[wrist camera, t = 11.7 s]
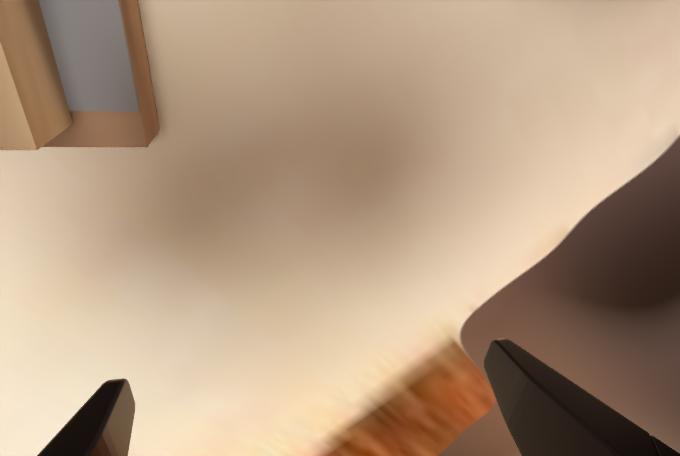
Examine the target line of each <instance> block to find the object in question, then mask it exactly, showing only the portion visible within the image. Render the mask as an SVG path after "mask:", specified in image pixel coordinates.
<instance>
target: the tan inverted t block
mask: <svg viewBox="0 0 680 456" xmlns="http://www.w3.org/2000/svg"><path fill="white" fill-rule="evenodd" d="M72 124H73V122H72V118H71V115H70V111H69V107H68V104H67V100H66V97H65V93H64V90H63V86H62V82H61V79H60V75H59V72H58V68H57V64H56V61H55V57H54V54H53V50H52V47H51V43H50V39H49V36H48V32H47V29H46V25H45V22H44V18H43V14H42V11H41V7H40V4H39V0H0V150H38V149H39V148H41V147H42V146H43V145H45V144H46V143H47V142H49V141H50V140H52V139H53V138H54V137H56V136H57V135H58V134H60V133H61V132H63V131H64V130H65V129H67V128H68V127H70V126H71V125H72Z"/></svg>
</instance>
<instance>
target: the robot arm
mask: <svg viewBox="0 0 680 456" xmlns="http://www.w3.org/2000/svg"><path fill="white" fill-rule="evenodd" d="M484 368H485V371H486V374H487V376H488V379H489V381H490V384H491V387H492V389H493V392H494V394H495V397H496V399H497V402H498V405H499V407H500V410H501V412H502V415H503V417H504V420H505V422H506V424H507V426H508V429H509V431H510V433H511V435H512V437H513V439H514V441H515V443H516V445H517V447H518V448H519V451H520V453H521V455H522V456H680V454H679V453H678V452H676V451H675V450H673V449H672V448H670V447H669V446H667V445H666V444H664V443H663V442H661V441H660V440H658V439H656V438H655V437H654V436H650V435H649V433H648V432H646V431H645V430H643V429H642V428H640V427H639V426H637V425H636V424H634V423H633V422H631V421H630V420H628V419H627V418H625V417H624V416H623V415H621V414H620V413H618V412H616V411H615V410H614V409H612V408H611V407H609V406H608V405H606V404H605V403H603V402H602V401H600V400H599V399H597V398H596V397H594V396H593V395H591V394H590V393H588V392H587V391H585V390H584V389H582V388H581V387H579V386H578V385H576V384H575V383H573V382H572V381H570V380H569V379H567V378H566V377H564V376H563V375H562V374H560V373H559V372H557V371H556V370H554V369H553V368H551V367H549V366H548V365H547V364H545V363H544V362H542V361H541V360H539V359H538V358H536V357H535V356H533V355H532V354H530V353H529V352H527V351H526V350H524V349H522V348H521V347H520V346H518V345H517V344H515V343H514V342H512V341H511V340H509V339H505V338H503V339H494V340H492V341H491V343H490V346H489V348H488V351H487V353H486V356H485V359H484ZM134 413H135V401H134V398H133V395H132V391H131V388H130V385H129V382H128V380H126V379H115V380H108V381H106V382H105V383H103V384H102V385H101V387H100V388H99V389H98V390H97V391H96V392H95V393H94V394H93V395H92V396H91V397H90V399H89V400H88V401H87V402H86V403H85V404H84V405H83V406H82V407H81V408H80V409H79V411H78V412H77V413H76V414H75V415H74V416H73V417H72V418H71V419H70V420H69V422H68V423H67V424H66V425H65V426H64V427H63V428H62V429H61V430H60V431H59V432H58V434H57V435H56V436H55V437H54V438H53V439H52V440H51V441H50V442H49V443H48V444H47V446H46V447H45V448H44V449H43V450H42V451H41V452H40V453H39V454H38V455H37V456H128V450H129V444H130V438H131V432H132V426H133V419H134Z"/></svg>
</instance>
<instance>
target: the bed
mask: <svg viewBox="0 0 680 456" xmlns="http://www.w3.org/2000/svg"><path fill="white" fill-rule="evenodd" d="M39 4H40V7H41V11H42V14H43V18H44V22H45V25H46V29H47V32H48V36H49V39H50V43H51V47H52V50H53V54H54V57H55V61H56V64H57V68H58V72H59V75H60V79H61V82H62V86H63V90H64V93H65V97H66V100H67V104H68V107H69V111H70V115H71V118H72V122H73V124H72V125H71V126H70V127H68V128H67V129H65V130H64V131H63V132H61V133H60V134H58V135H57V136H56V137H54V138H53V139H52V140H50V141H49V142H47V143H46V144H45V145H43V146H42V147H148V145H149V144H150V142H151V141H152V140H153V138H154V137H155V135H156V134H157V132H158V131H159V124H158V118H157V112H156V106H155V100H154V94H153V88H152V82H151V76H150V70H149V64H148V58H147V53H146V47H145V41H144V35H143V29H142V23H141V17H140V11H139V5H138V0H39Z"/></svg>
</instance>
